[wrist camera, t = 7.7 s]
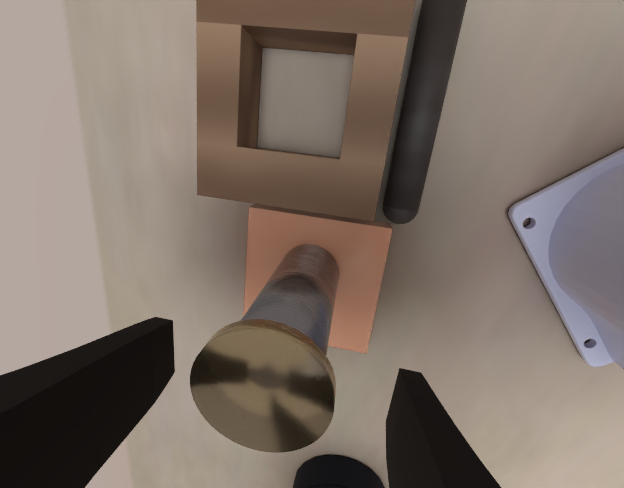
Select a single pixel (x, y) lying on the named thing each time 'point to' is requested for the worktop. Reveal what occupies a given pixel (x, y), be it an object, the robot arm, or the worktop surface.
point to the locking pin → (274, 360)
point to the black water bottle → (335, 474)
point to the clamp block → (360, 110)
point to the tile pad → (344, 248)
